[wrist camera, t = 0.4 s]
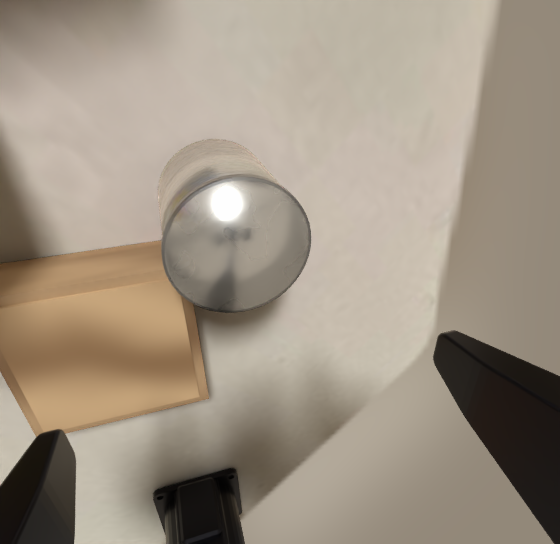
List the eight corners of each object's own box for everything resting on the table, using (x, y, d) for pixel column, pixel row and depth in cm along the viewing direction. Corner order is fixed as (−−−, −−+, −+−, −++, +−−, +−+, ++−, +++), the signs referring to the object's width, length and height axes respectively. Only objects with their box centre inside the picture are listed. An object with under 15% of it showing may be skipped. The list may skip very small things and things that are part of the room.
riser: (202, 362, 26) (209, 400, 23) (48, 396, 23) (37, 442, 21) (181, 237, 21) (187, 267, 18) (-15, 265, 19) (-39, 304, 16)
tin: (272, 238, 22) (309, 298, 18) (166, 254, 21) (175, 324, 16) (269, 131, 19) (313, 169, 14) (144, 142, 18) (147, 187, 13)
